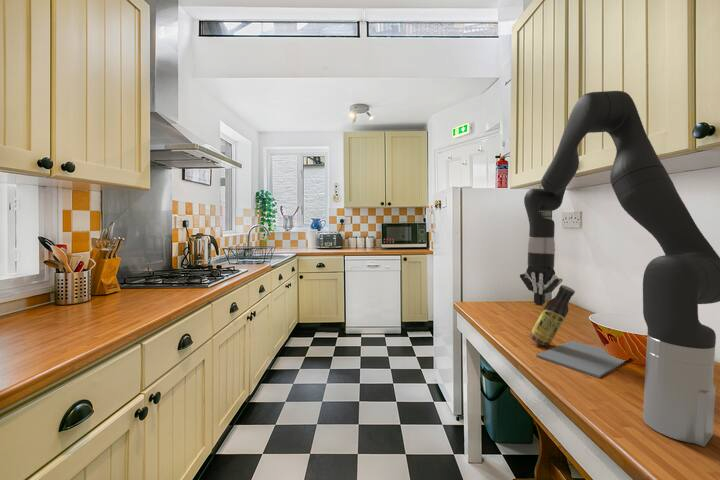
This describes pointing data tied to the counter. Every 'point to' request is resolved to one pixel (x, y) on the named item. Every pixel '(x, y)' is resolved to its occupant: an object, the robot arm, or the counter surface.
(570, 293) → the sauce bottle
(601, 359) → the mat
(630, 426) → the counter surface
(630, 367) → the counter surface
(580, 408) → the counter surface
